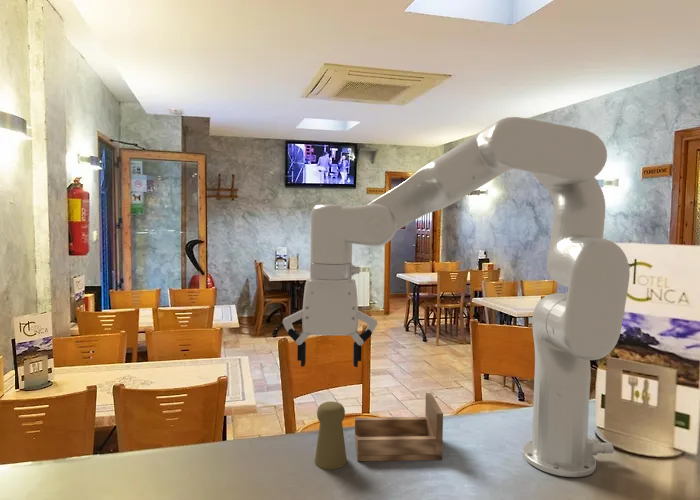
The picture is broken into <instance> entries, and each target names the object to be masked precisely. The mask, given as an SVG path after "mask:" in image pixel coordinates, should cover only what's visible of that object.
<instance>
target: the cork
mask: <svg viewBox="0 0 700 500" xmlns="http://www.w3.org/2000/svg"><path fill="white" fill-rule="evenodd" d="M345 414H346V410H345V407H344V406H343V404H342V403H340V402H338V401H325V402H321V404H319V405H318V407H317V410H316V416H317V419H318V421H319V428H318V435H317V441H316V449H315V450H316V451H315V456H314V457H315V458H314V464H315V466H317V468H320V469H323V470H332V471H333V470H338V469H340V468H343V467H344V466H346V464H347V463H348V462H347V461H348V460H347V459H348V458H347V452H346V450H347V449H346V443H345V434H344V427H343V421H344V419H345V416H346V415H345Z"/></svg>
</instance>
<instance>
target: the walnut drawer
mask: <svg viewBox="0 0 700 500" xmlns="http://www.w3.org/2000/svg"><path fill="white" fill-rule="evenodd" d="M424 412H425V413H424V415H425V416H400V417H399V416H398V417H397V416H395V417H394V416H391V417H390V416H384V417H383V416H382V417H379V416H378V417H373V416H372V417H354V441H355V452H356V461H357V462H391V461H393V462H394V461H396V462H397V461H403V462H404V461H405V462H406V461H442V460H443V442H444V441H443V440H444V439H443V435H444V434H443V433H444V411H442V409H441V406H439V404H438V402H437V400H436V399H435V396H434V395H433V393H432V392H429V393H428V392H426V393H425V411H424Z"/></svg>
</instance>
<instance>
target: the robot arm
mask: <svg viewBox="0 0 700 500" xmlns="http://www.w3.org/2000/svg"><path fill="white" fill-rule="evenodd" d="M607 151H608V150H607V148H606V145H605V142H603V140H602V139H601V138H600V137H599V136H598V135H597V134H595V133H594V132H591V131H589V130H587V129H584V128H579V127H574V126H568V125H563V124H557V123H553V122H546V121H542V120H537V119H533V118H527V117H518V116H509V117H504V118H501V119H500V120H498V121H495V122H494V123H493V124H491V125H490V126H488V127H486V128H484V129H482V130H481V131H478V132H477V133H476V134H473V136H471V137H469V138H468V139H466V140H464V141H462V142H461V143H459V144H458V145H457V146H454V147H453V148H452V149H449V150H448V151H447V152H445V153H444V154H442V155H441V156H439V157H437V158H435V159H434V160H432V161H431V162H429V163H427V164H425V165H424V166H423V167H422V168H420V169H419V170H418V171H416V172H415V173H414V174H412V175H411V176H410V177H409V178H407V179H406V180H405V181H403V182H402V183H400V184H399V185H397V186H395V187H394V188H392V189H390V190H388V191H387V192H386V193H384V194H381V196H379V197H377V198H376V199H374V200H372V201H371V202H369V203H367V204H363V205H362V204H361V205H352V206H351V205H345V204H336V203H335V204H331V203H330V204H329V203H327V204H326V203H325V204H316V205H315V206H313V207H312V210H311V213H310V214H311V215H310V219H311V220H310V263H309V264H310V268H309V270H310V271H309V273H310V275H309V276H310V277H309V278H307V279H306V280H305V285H304V290H303V291H304V292H303V298H302V299H303V302H302V309H300V310H298V311H296V312H295V313H292V314H290V315H288V316H286V317H284V318H283V319H282V324H283V327H284V329H285V330H286V332H287V334H288V336H289V337H290V339H292V340H293V341H294V342H295V345H297V361H298V362H300V367H303V368H305V367H306V362H307V360H306V359H307V358H306V357H307V352H306V351H307V342H306V340H307V338H308V337H309V336H310V335H311V336H350V337H351V338H352V340H353V341H354V342H353V349H352V350H353V352H352V363H353V364H352V365H353V367H355V368H358V366H359V362H362V355H363V354H362V349H363V348H362V346H363V345H364V343H365V342H366V341H367V340H368V339H369V338H371V336H372V334H373V333H374V330H375V329H376V327H377V326H378V321H377V319H376V318H374V317H372V316H370V315H368V314H366V313H364V312H362V311H361V310H359V304H358V292H357V291H358V289H357V284H356V279H353V276H354V275H359V274H360V269H361V268H360V266H356V265H354V264H353V263H352V262H353V245H354V244H355V245H362V246H367V247H381V246H384V245H385V244H388V243H389V242H391V240H392V239H393V238H394V236H395V234H396V233H397V232H398V231H399V230H400V229H402V228H404V227H405V226H407V225H409V224H410V223H412V222H414V221H416V220H418V219H419V218H421V217H423V216H425V215H427V214H430V213H433V212H436V211H439V210H442V209H444V208H447V207H449V206H451V205H453V204H455V203H457V202H458V201H460V200H461V199H463V198H464V197H465V198H466V197H467V196H468V195H469V194H471V193H473V192H474V191H476V190H477V189H479V188H481V187H483V186H484V185H486V184H487V183H489V182H491V181H492V180H494V179H496V178H497V177H499V176H500V175H502V174H505V172H507V171H510V170H514V169H515V170H519V171H522V172H523V171H524V172H528V173H532V175H533V176H534V178H535V180H537V181H538V182H539V183H541V184H542V185H543V186H544V188H546V190H547V192H548V193H549V195H550V197H551V199H552V203H553V217H552V219H553V220H552V226H551V227H552V228H551V235H550V242H549V247H548V252H547V253H548V255H547V261H546V263H547V264H546V268H547V273H548V275H549V276H550V277H551V279H552V280H553V281H554V282H555V283H557V284H559V285H561V286H564V287H566V288H567V293H566V292H565V293H564V292H563V293H562V292H557V293H555V292H554V293H551V294H548V295H546V296H544V297H543V298H541V299H540V300H539V301H538V303H537V304H536V305H535V307H534V310H533V311H532V320H531V321H532V322H531V323H532V325H531V326H532V336H533V344H534V346H533V347H534V376H533V378H534V379H533V382H534V383H533V409H532V432H531V433H532V435H531V436H532V437H531V441H528V442H527V443H525V444H524V446H523V448H522V449H523V450H522V451H523V452H522V454H523V457H524V459H525V461H527V462H528V463H529V464H530V465H531V466H533V467H534V468H536V469H538V470H541V471H542V472H544V473H548V474H551V475H555V476H560V477H567V478H582V477H586V476H589V475H591V474H593V473H594V472H595V471H596V469H597V462H596V461H597V460H596V458H595V457H594V456H597V455H598V454H603V455H604V454H607V455H608V454H610V455H612V454H614V453H615V452H614V451H615V448H614V445H613V444H612V443H611V442H600V440H599V438H597V437H590V438H589V415H590V414H589V413H590V394H591V393H590V390H591V375H592V374H591V361H595V360H596V361H597V360H601V359H602V358H605V357H607V355H609V354H610V353H611V352H612V351H613V350H614V348H615V347H616V345H617V344H618V341H619V338H620V335H621V332H622V327H623V321H624V315H625V310H626V303H627V297H628V291H629V286H630V275H631V273H630V266H629V265H630V264H629V261H628V257H627V255H626V253H625V252H624V250H623V249H622V248H621V246H619V245H618V244H617V243H615V242H614V241H611V240H609V239H606V238H604V231H605V219H606V199H605V196H604V193H603V190H602V187H601V186H600V185H601V184H600V183H599V181H598V180H597V178H596V177H597V176H598V175H599V174H600V173H601V172H602V170H603V169H604V168H605V165H606V162H607V158H608V152H607ZM299 320H301V322H302V324H301V325H302V326H301V327H302V330H301V332H298V331H297V330H296V329H295V328H294V325H293V323H295V322H296V321H297V322H298V321H299ZM359 320H360V321H362V322H364V323H366V324H367V326H366V328H365V329H364V330H363V331H362V332H361V333H360V332H359V331H358V326H359Z"/></svg>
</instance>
